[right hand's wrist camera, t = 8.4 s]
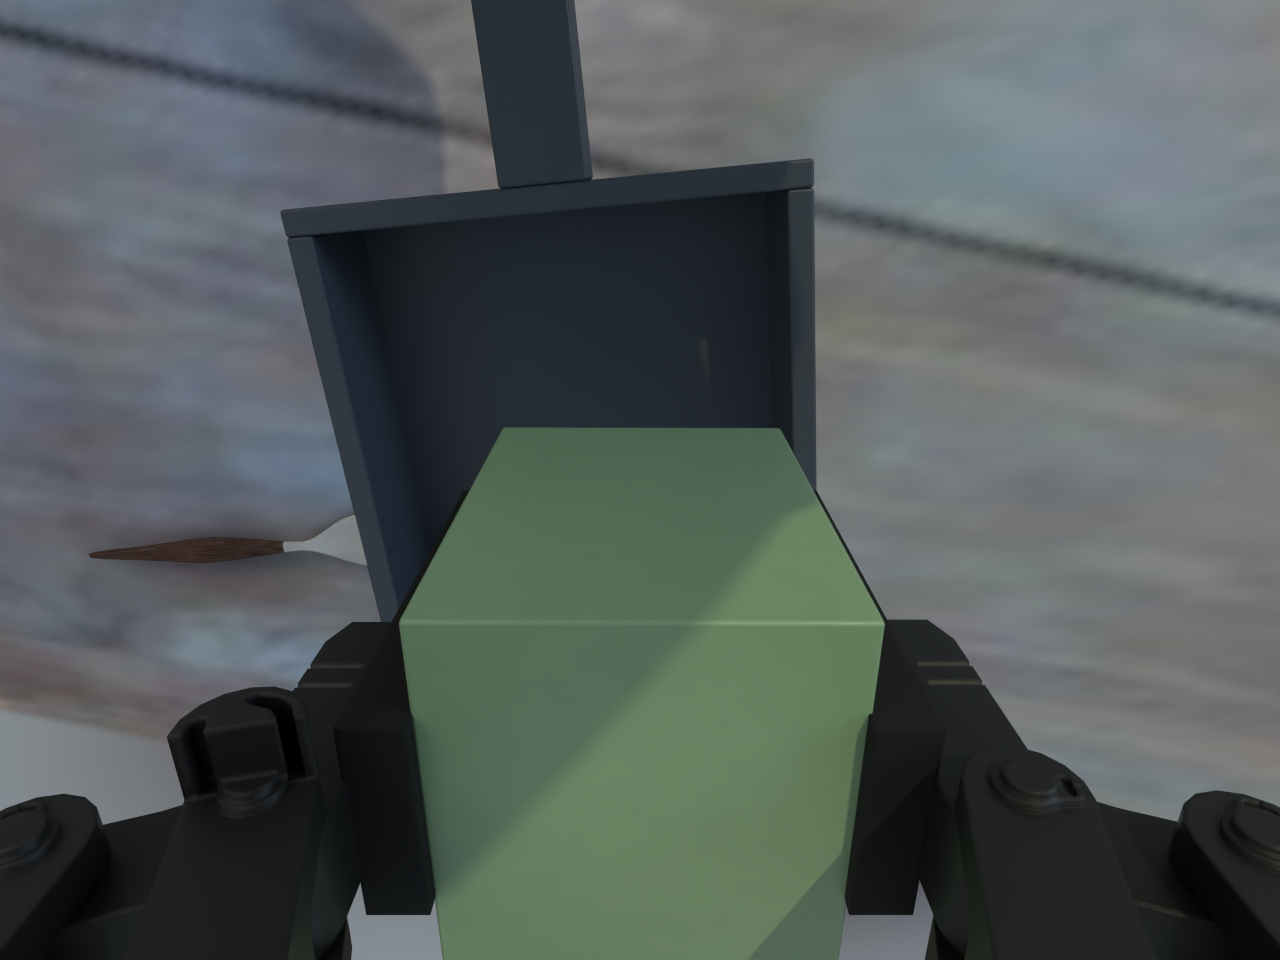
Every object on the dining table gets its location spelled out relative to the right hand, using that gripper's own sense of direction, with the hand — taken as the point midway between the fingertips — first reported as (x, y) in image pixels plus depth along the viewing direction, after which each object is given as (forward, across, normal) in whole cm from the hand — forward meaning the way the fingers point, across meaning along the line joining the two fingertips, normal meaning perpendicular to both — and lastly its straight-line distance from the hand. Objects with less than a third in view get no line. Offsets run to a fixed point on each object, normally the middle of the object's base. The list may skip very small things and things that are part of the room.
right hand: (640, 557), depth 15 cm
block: (0, 0, 0) cm, 0 cm away
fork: (+19, +17, +9) cm, 28 cm away
